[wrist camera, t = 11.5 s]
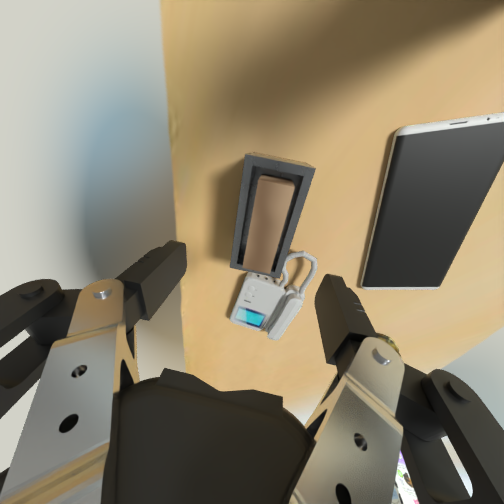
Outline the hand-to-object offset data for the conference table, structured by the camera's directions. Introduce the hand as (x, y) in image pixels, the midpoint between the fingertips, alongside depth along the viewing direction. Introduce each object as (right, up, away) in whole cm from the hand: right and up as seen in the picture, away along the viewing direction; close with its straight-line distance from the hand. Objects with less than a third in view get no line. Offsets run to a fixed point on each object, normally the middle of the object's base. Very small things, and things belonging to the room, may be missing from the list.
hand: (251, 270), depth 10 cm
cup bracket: (+3, +8, +21) cm, 22 cm away
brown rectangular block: (+2, +6, +16) cm, 18 cm away
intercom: (+5, -7, +30) cm, 31 cm away
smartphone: (+27, +6, +19) cm, 34 cm away
